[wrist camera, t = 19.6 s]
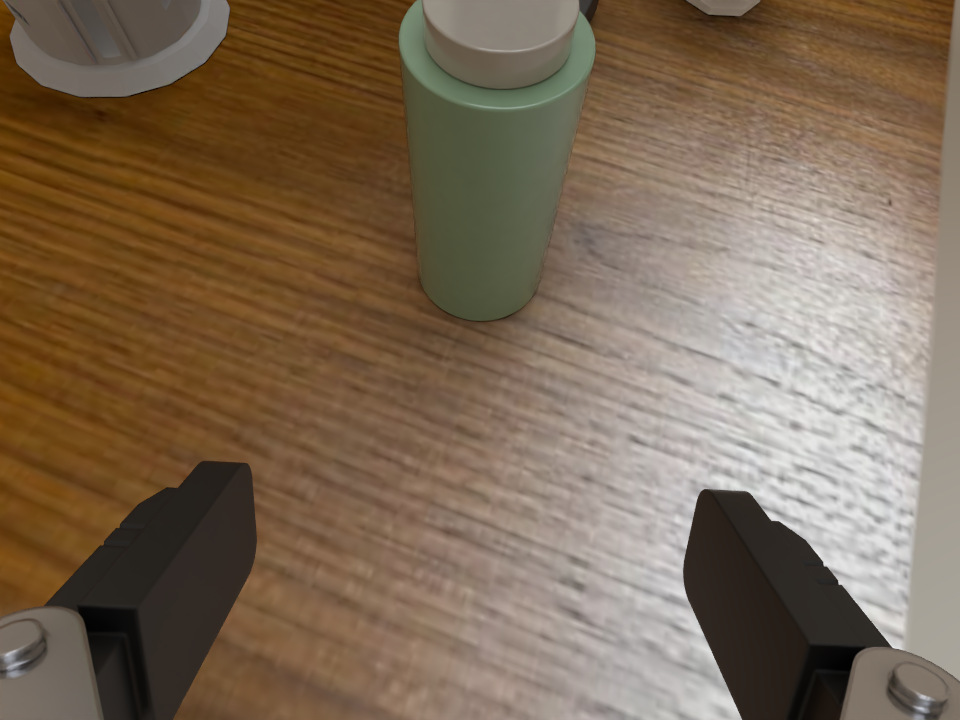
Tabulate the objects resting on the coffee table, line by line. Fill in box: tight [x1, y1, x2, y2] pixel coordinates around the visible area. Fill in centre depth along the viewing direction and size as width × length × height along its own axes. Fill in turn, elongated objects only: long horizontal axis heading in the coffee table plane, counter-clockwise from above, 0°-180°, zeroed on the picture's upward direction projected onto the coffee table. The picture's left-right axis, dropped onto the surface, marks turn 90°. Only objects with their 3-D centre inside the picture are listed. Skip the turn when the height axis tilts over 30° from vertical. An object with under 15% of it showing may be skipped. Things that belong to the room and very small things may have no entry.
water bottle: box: [398, 0, 596, 321], centre depth 19 cm, size 5×5×11 cm
